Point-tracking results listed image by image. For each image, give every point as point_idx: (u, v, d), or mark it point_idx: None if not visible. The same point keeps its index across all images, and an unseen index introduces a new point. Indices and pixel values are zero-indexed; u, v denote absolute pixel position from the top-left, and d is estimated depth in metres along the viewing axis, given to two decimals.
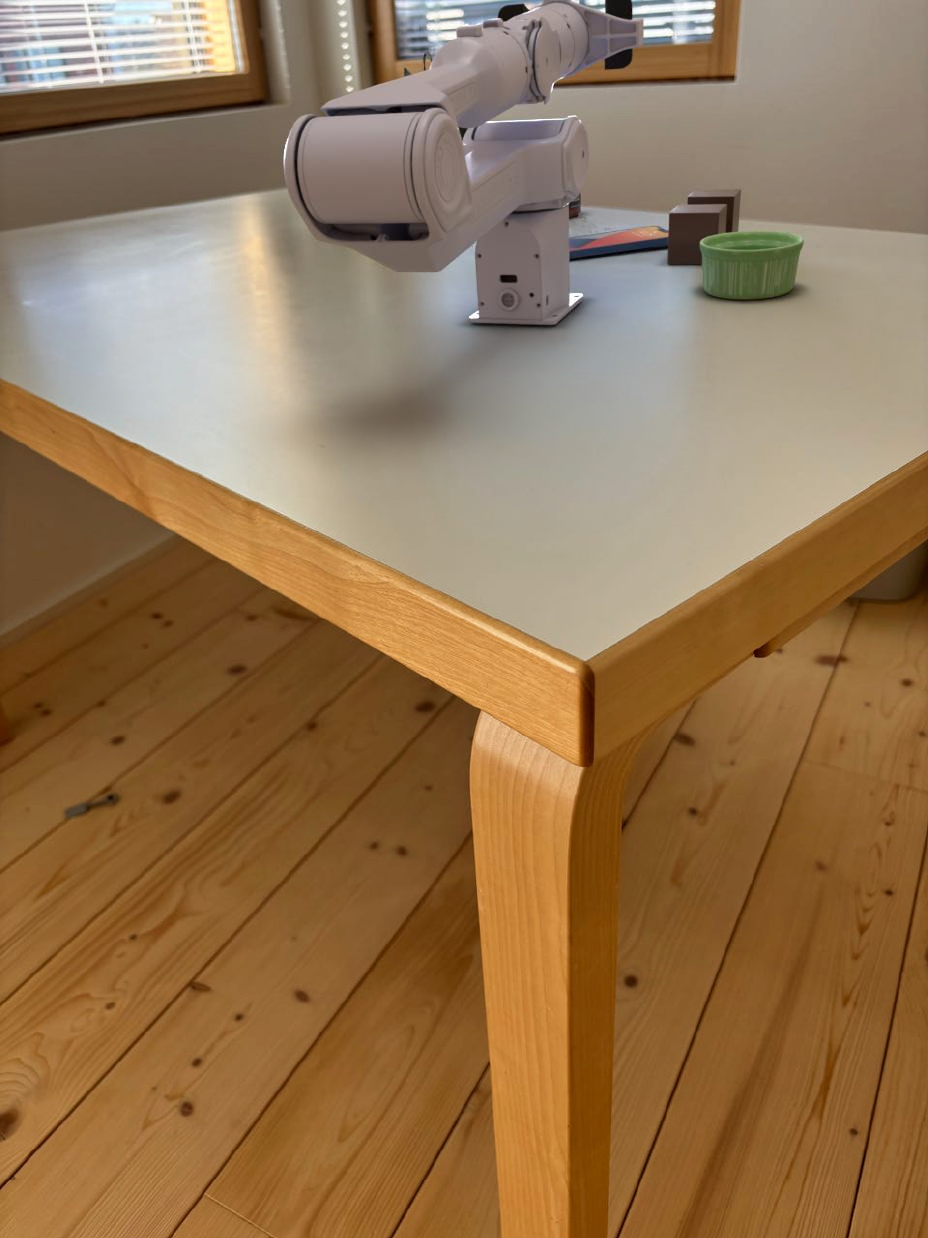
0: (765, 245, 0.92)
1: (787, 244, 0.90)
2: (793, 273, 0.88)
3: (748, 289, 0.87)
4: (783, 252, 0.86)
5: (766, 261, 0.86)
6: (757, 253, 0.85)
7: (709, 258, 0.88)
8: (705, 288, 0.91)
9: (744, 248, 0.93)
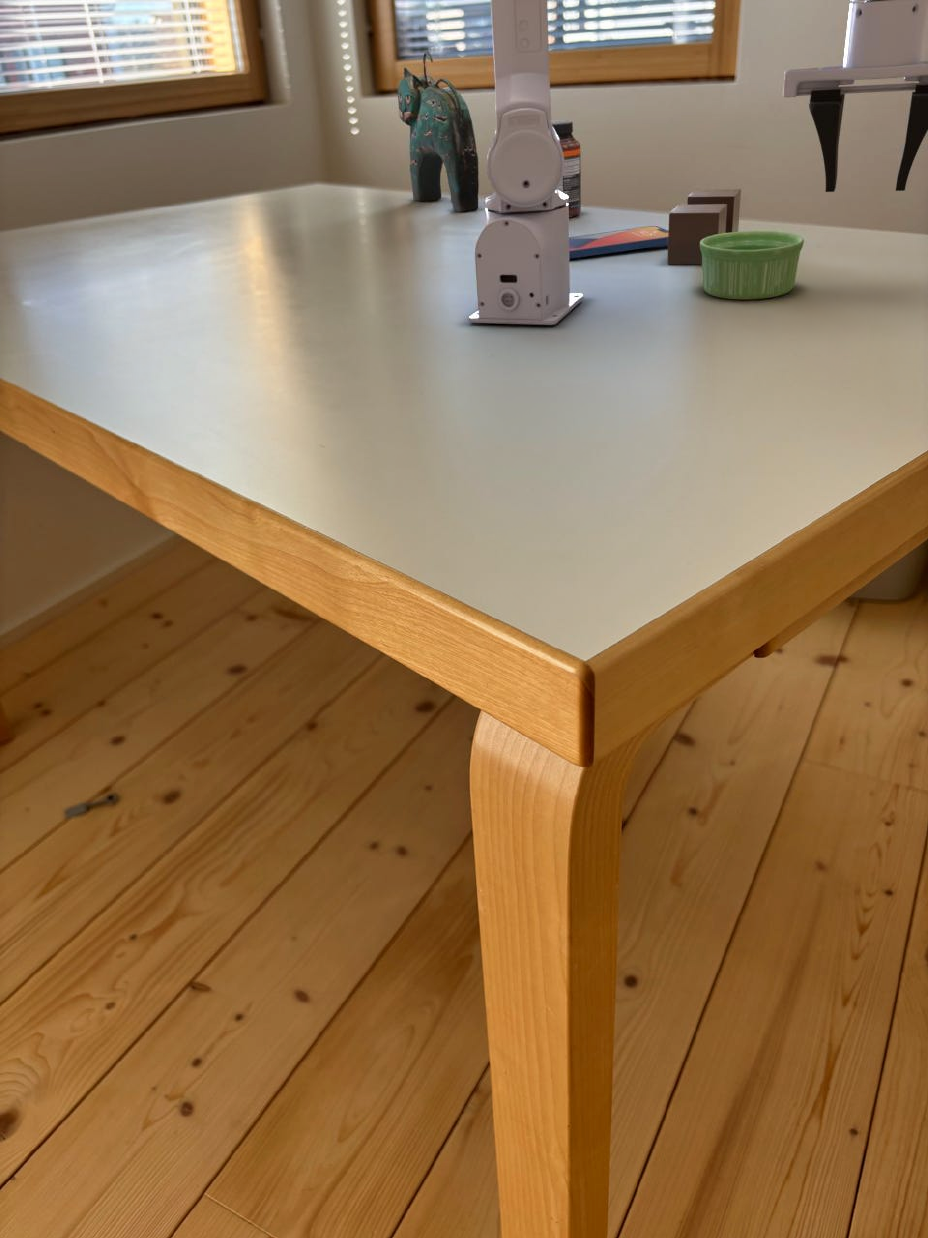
0: (765, 245, 0.92)
1: (787, 244, 0.90)
2: (793, 273, 0.88)
3: (748, 289, 0.87)
4: (783, 252, 0.86)
5: (766, 261, 0.86)
6: (757, 253, 0.85)
7: (709, 258, 0.88)
8: (705, 288, 0.91)
9: (744, 248, 0.93)
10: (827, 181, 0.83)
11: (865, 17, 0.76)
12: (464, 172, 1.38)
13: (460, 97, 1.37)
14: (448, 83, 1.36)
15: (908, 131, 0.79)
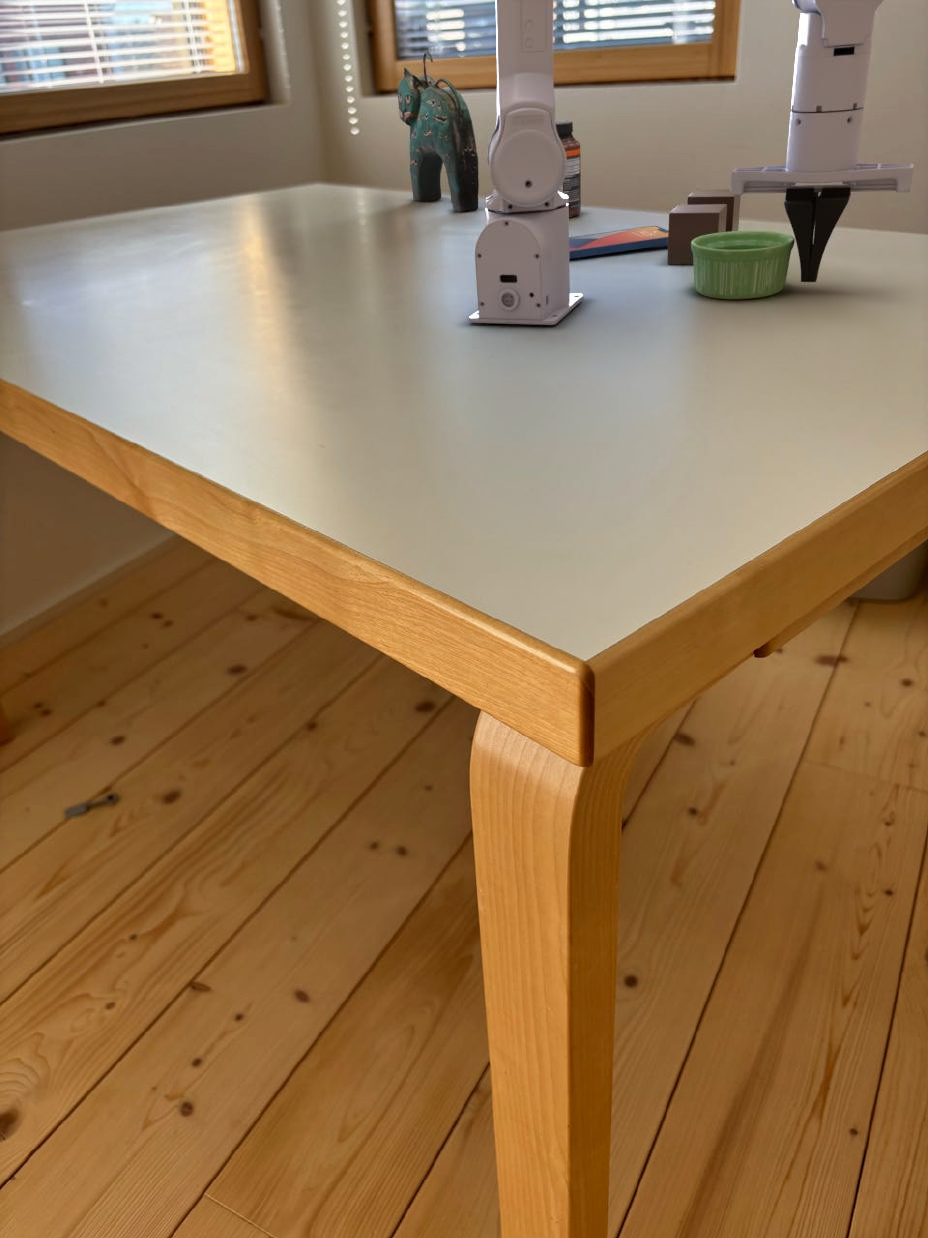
0: (756, 245, 0.92)
1: (778, 244, 0.90)
2: (784, 273, 0.88)
3: (739, 289, 0.88)
4: (773, 252, 0.86)
5: (756, 261, 0.86)
6: (747, 253, 0.86)
7: (700, 258, 0.89)
8: (696, 288, 0.91)
9: (735, 248, 0.93)
10: (802, 272, 0.88)
11: (803, 127, 0.81)
12: (464, 172, 1.38)
13: (460, 97, 1.37)
14: (448, 83, 1.36)
15: (816, 230, 0.85)
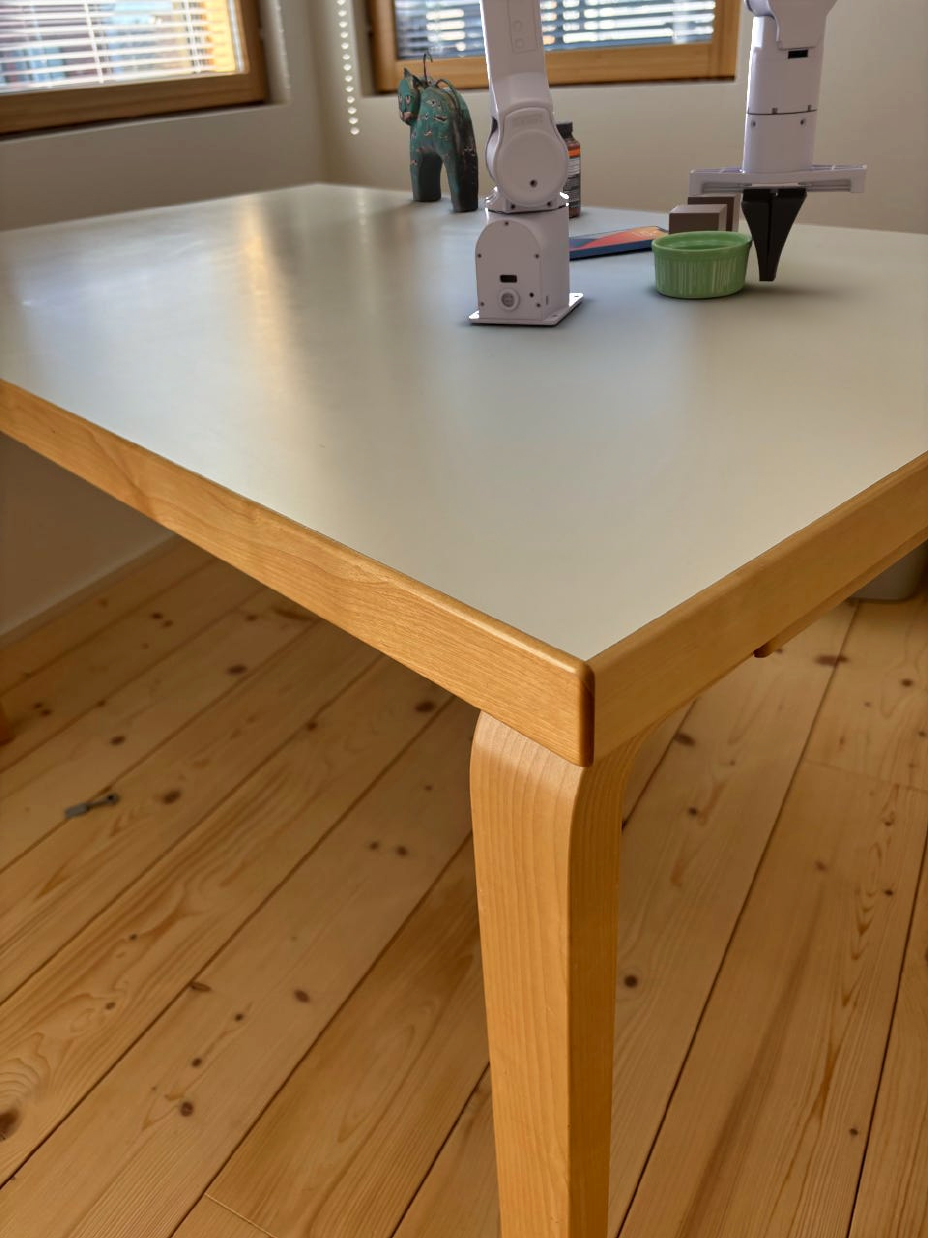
0: (717, 245, 0.93)
1: (738, 244, 0.92)
2: (742, 272, 0.90)
3: (698, 288, 0.89)
4: (731, 252, 0.87)
5: (714, 260, 0.87)
6: (705, 253, 0.87)
7: (660, 258, 0.90)
8: (657, 287, 0.92)
9: (696, 248, 0.94)
10: (760, 272, 0.89)
11: (758, 128, 0.82)
12: (464, 172, 1.38)
13: (460, 97, 1.37)
14: (448, 83, 1.36)
15: (772, 230, 0.86)
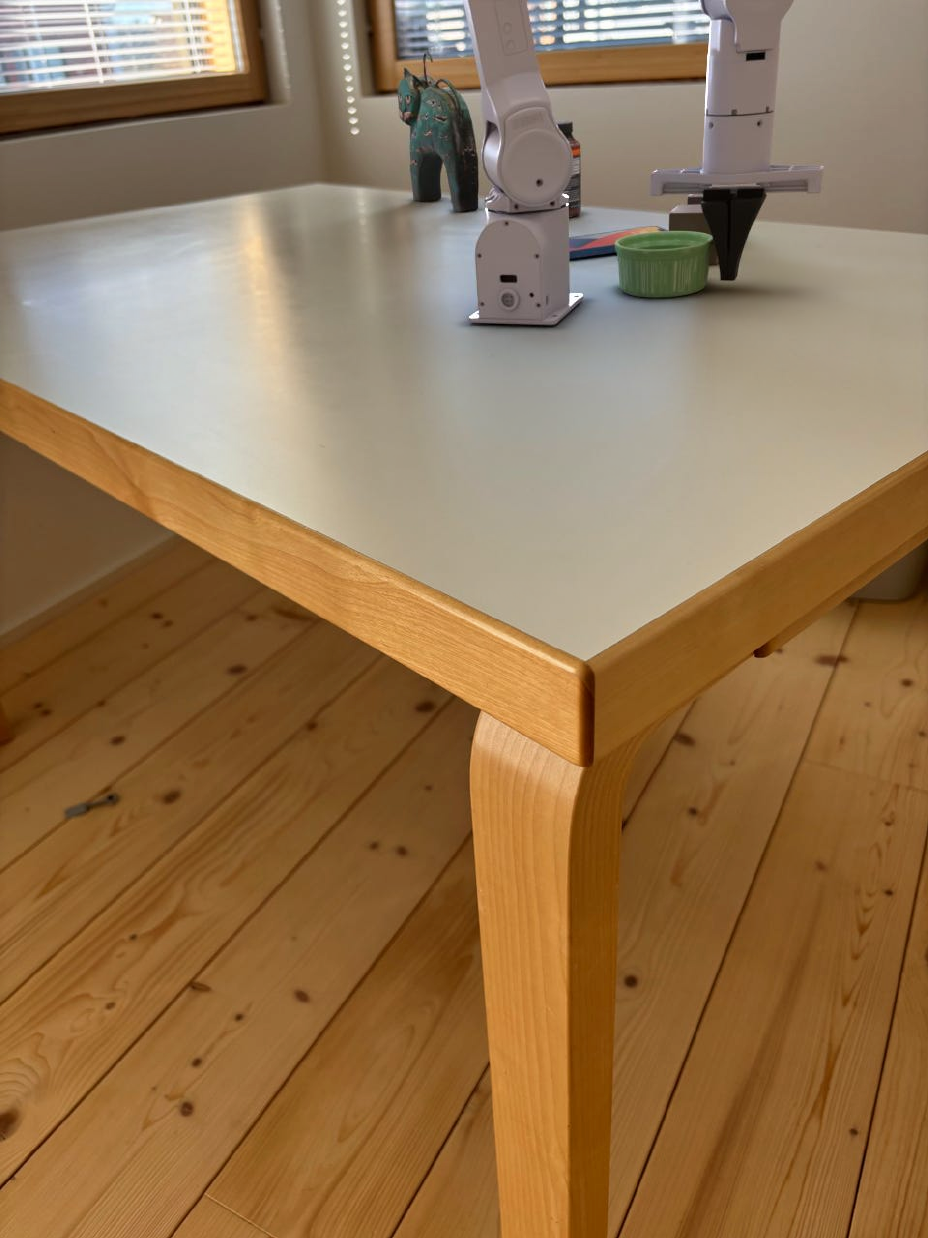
0: (680, 245, 0.95)
1: (700, 243, 0.93)
2: (704, 272, 0.91)
3: (659, 287, 0.90)
4: (691, 251, 0.88)
5: (675, 260, 0.89)
6: (666, 252, 0.88)
7: (622, 257, 0.91)
8: (621, 287, 0.93)
9: (660, 248, 0.95)
10: (721, 271, 0.90)
11: (716, 130, 0.83)
12: (464, 172, 1.38)
13: (460, 97, 1.37)
14: (448, 83, 1.36)
15: (731, 230, 0.87)
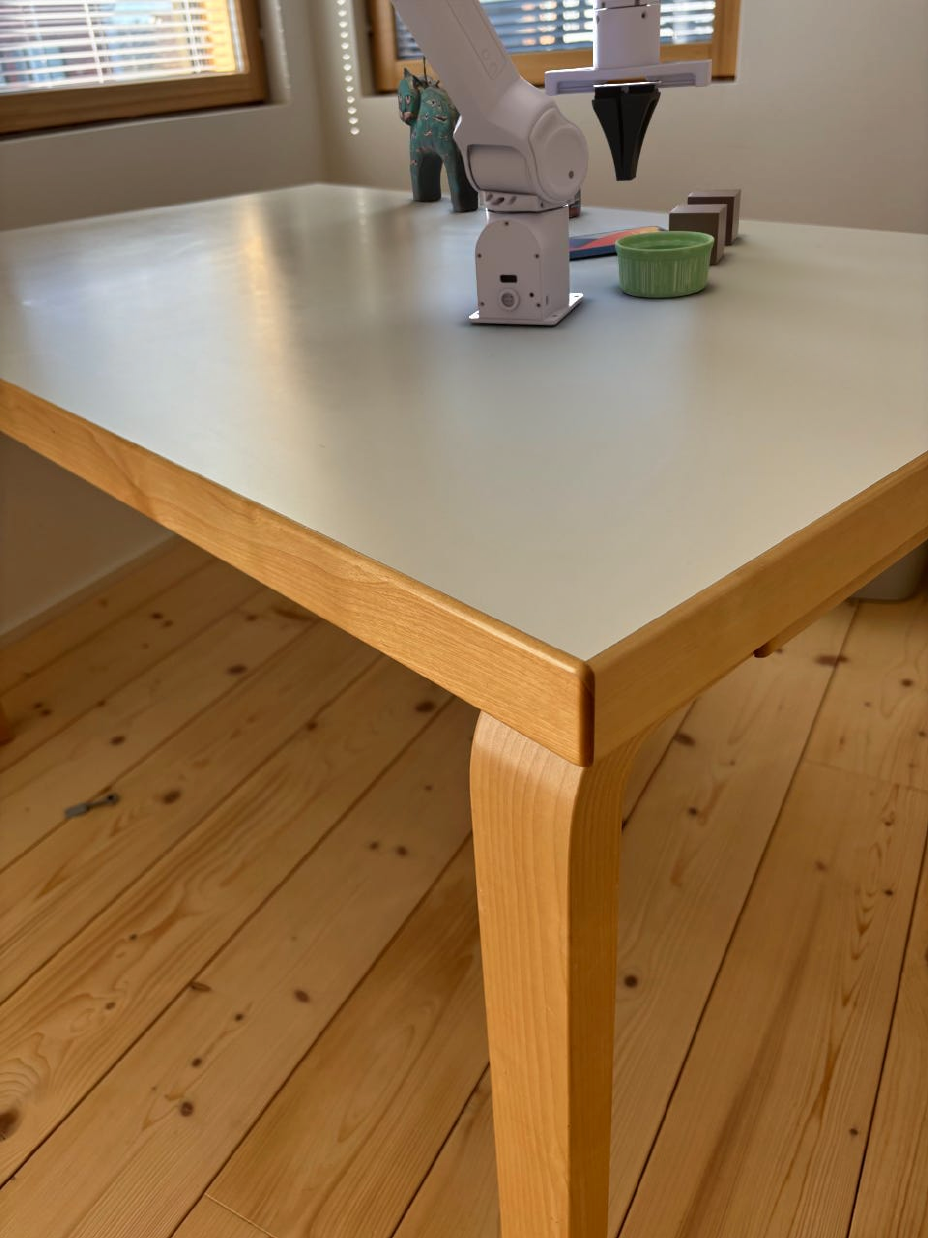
0: (680, 245, 0.95)
1: (700, 244, 0.93)
2: (704, 272, 0.91)
3: (659, 287, 0.90)
4: (691, 251, 0.88)
5: (675, 260, 0.89)
6: (666, 253, 0.88)
7: (623, 257, 0.91)
8: (621, 287, 0.93)
9: (660, 248, 0.95)
10: (616, 171, 0.91)
11: (602, 23, 0.84)
12: (464, 172, 1.38)
13: None
14: None
15: (624, 127, 0.88)
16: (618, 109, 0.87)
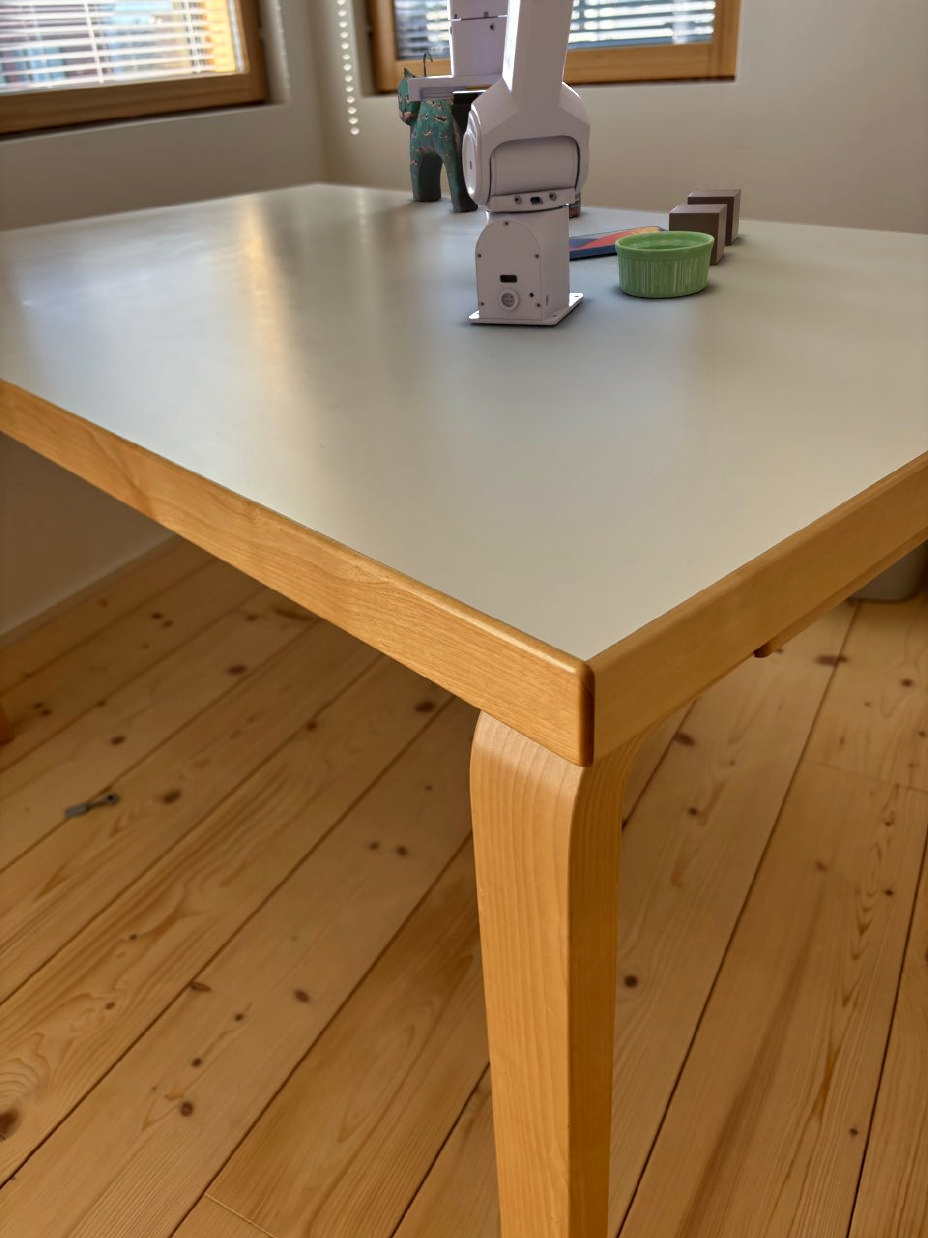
0: (680, 245, 0.95)
1: (700, 244, 0.93)
2: (704, 272, 0.91)
3: (659, 287, 0.90)
4: (691, 251, 0.88)
5: (675, 260, 0.89)
6: (666, 253, 0.88)
7: (623, 257, 0.91)
8: (621, 287, 0.93)
9: (660, 248, 0.95)
10: None
11: (455, 34, 0.90)
12: None
13: None
14: None
15: None
16: None
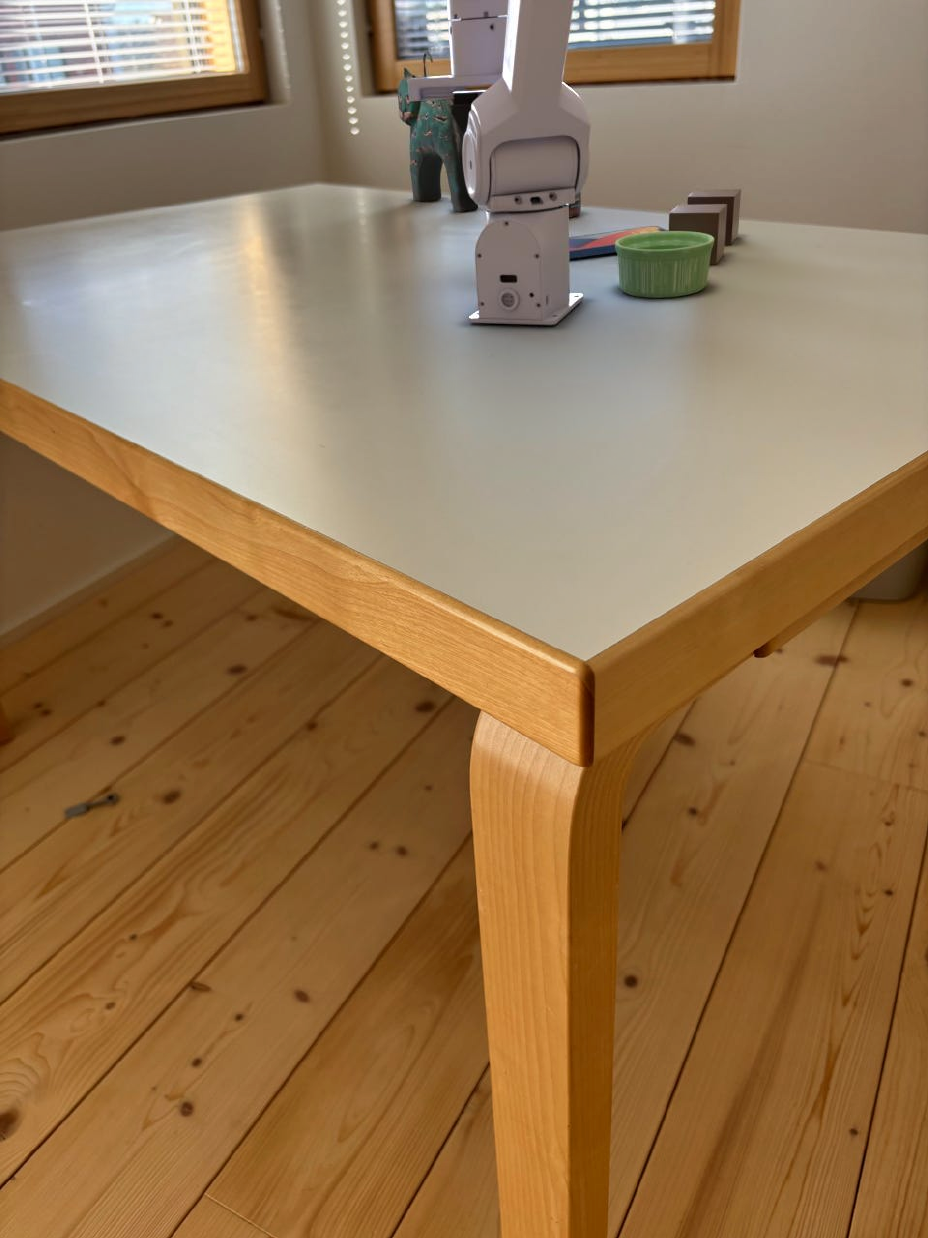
0: (680, 245, 0.95)
1: (700, 244, 0.93)
2: (704, 272, 0.91)
3: (659, 287, 0.90)
4: (691, 251, 0.88)
5: (675, 260, 0.89)
6: (666, 253, 0.88)
7: (623, 257, 0.91)
8: (621, 287, 0.93)
9: (660, 248, 0.95)
10: None
11: (455, 34, 0.90)
12: None
13: None
14: None
15: None
16: None
